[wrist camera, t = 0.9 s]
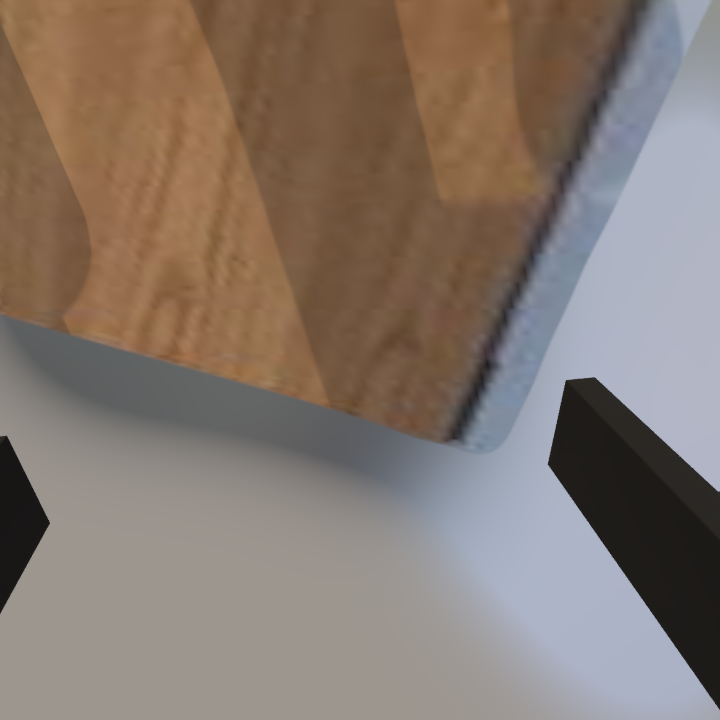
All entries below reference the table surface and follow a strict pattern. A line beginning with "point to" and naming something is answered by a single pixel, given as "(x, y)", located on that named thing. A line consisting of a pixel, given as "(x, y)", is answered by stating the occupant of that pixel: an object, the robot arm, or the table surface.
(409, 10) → the table surface
